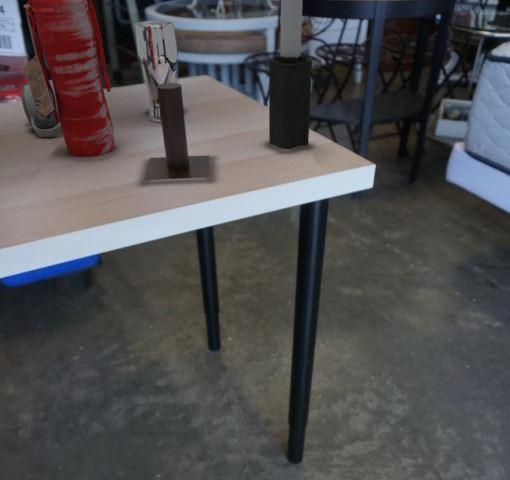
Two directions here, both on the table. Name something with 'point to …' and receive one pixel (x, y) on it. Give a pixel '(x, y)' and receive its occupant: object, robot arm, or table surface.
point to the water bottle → (70, 73)
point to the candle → (290, 83)
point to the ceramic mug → (34, 118)
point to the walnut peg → (175, 141)
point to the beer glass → (157, 58)
